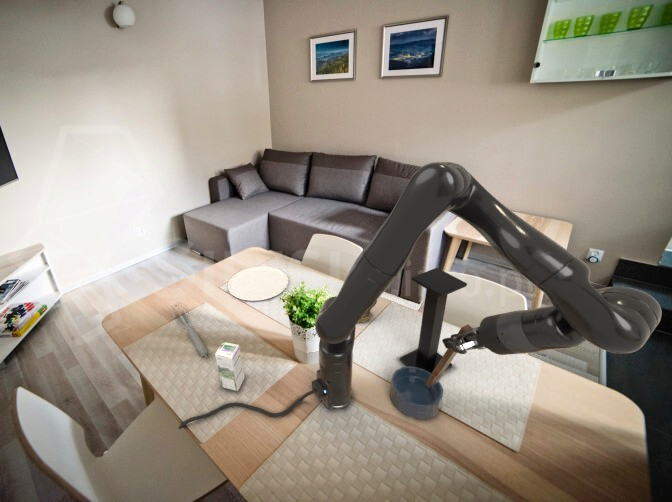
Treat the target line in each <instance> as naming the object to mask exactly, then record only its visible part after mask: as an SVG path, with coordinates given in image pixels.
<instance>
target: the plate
mask: <svg viewBox="0 0 672 502" xmlns="http://www.w3.org/2000/svg"><path fill="white" fill-rule="evenodd" d="M288 285H289V277H288V275H287V273H285V272H284V271H283V270H282V269H278V268H276V267H272V266H265V265H262V266H261V265H260V266H252V267H248V268H245V269H242V270H240V271H238V272H236V273H235V274H234V275H232V277H230V279H229V280H228V283H227V289H228V292H229V293H230V294H231V296H233V297H235V298H237V299H240V300H243V301H248V302H249V301H250V302H257V301H258V302H259V301H265V300H269V299H273V298H274V297H277V296H279V295H280V294H281V293H283V292H284V291H285V290H286V289H287V287H288Z"/></svg>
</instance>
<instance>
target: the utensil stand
mask: <svg viewBox="0 0 672 502" xmlns="http://www.w3.org/2000/svg"><path fill="white" fill-rule="evenodd" d="M411 281H413V282H414V283H416V284H418V285H419V286H421V287H422V288H424V289H426V290H425V295H424V303H423V311H422V318H421V324H420V331H419V338H418V345H417V349H414V350H412V351H411V352H409V353H407V354H405V355H402V356H400V357H399V361H400V362H401V363H402V364H403V365H404V366H405V367H407V366H412V367H418V368H421V369H424V370H426V371H428V372H430V373H431V374H432V372H433V371H434V369H435V368H436V366H437V364H438V363H439V361H440V360H441V358H442V357H443V355H441V354H440V353H438V351H439V344H440V339H441V335H442V330H443V329H442V328H443V322H444V317H445V312H446V305H447V300H448V295H449V294H452V293H455V292H457V291H459V290H461V289H463V288H466V287H467V286H468V283H467V282H465V281H464V280H462V279H460V278H457V277H456V276H453V275H452V274H450V273H448V272H446V271H445V270H442V269H440V268H438V267H435V268H432V269H429V270H426V271H424V272H421V273H419V274H416V275H414V276H411ZM453 365H454V364H452V362H450V364H449V365H448V367H447V368H446V370H445V372H446V371H448V370H450V369H452V368H453Z"/></svg>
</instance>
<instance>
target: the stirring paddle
mask: <svg viewBox="0 0 672 502" xmlns="http://www.w3.org/2000/svg"><path fill="white" fill-rule="evenodd" d="M473 328H474V327H473V326H471V325H470V324H466V325H464V326H461V327H460V329H459V330H458V331H457V333H456V334H457V335H456V336H459V335H460V334H462V333H465V332H469V331H471V330H473ZM459 340H460V339H459ZM457 354H458V353H456V352H454V351H453V349H452V348H449V349H447V348H446V351H444V354H443V355H442V358H441V360H440V361H439V363H438V364H437V366H436V368H435V369H434V371H433V372H432V374H431V375H430V377H429V378H428V380H427V381H426V384H425V385H426V386H427V387H431V386H432V385H434V384H436V383H438V382H440V380H441V379H442V377H443V376H444V374H445V373H446V371H447V370H446V368H447V367H448V365H449V364H450V363H452V361H453V360H454V358H455V357H456V355H457ZM445 370H446V371H445Z"/></svg>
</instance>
